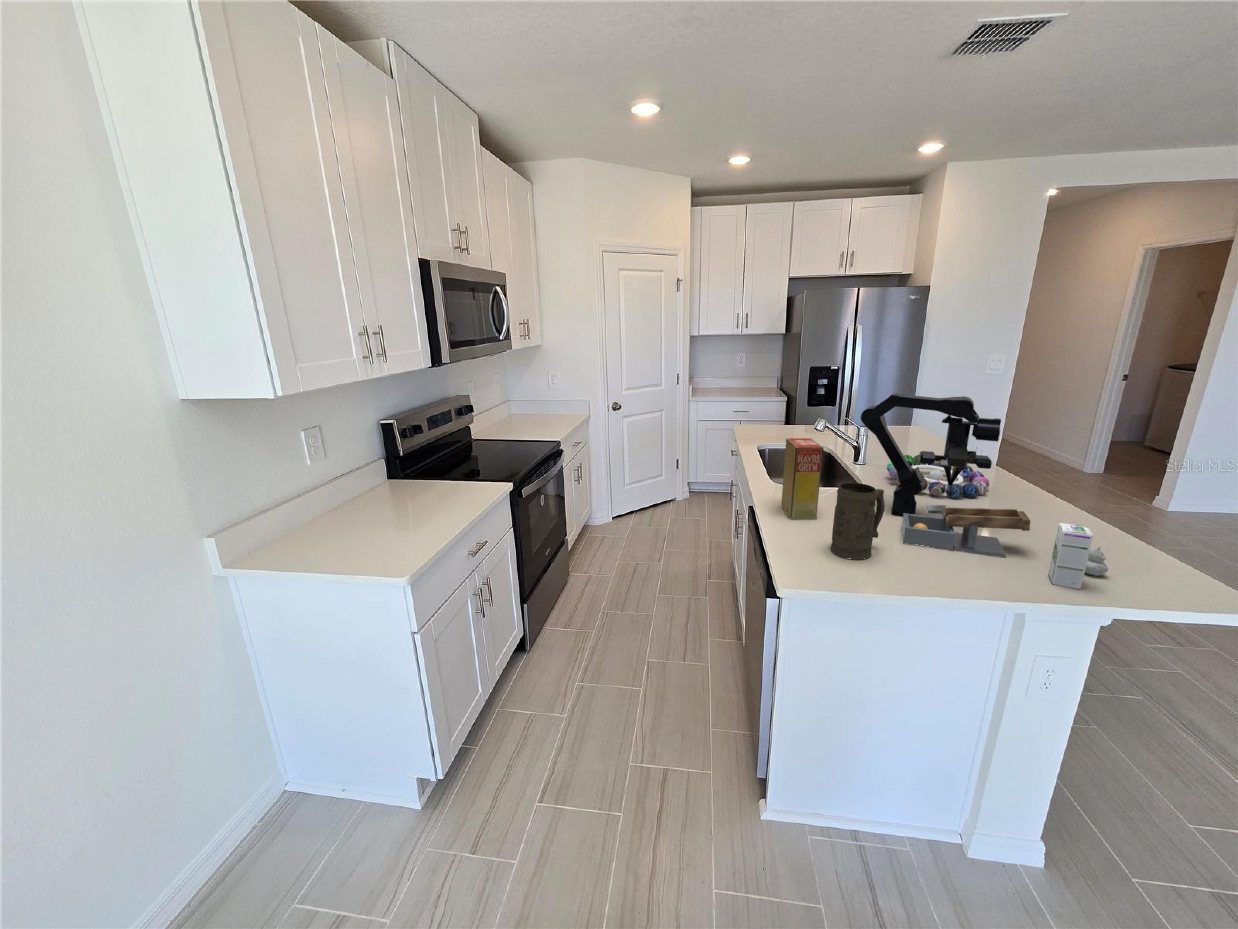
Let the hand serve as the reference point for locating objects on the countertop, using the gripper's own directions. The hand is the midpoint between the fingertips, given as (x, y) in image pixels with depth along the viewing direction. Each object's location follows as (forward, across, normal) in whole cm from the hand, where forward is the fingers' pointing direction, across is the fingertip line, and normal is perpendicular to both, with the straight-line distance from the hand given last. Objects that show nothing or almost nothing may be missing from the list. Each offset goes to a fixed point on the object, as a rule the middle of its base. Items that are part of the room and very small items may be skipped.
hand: (949, 485), depth 161 cm
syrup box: (+12, +22, -34) cm, 42 cm away
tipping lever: (+5, +5, -14) cm, 16 cm away
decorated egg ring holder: (+13, +1, +39) cm, 41 cm away
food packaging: (+12, -44, -10) cm, 47 cm away
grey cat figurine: (+12, +29, -26) cm, 41 cm away
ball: (+9, -8, -18) cm, 22 cm away
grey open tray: (+12, -6, -18) cm, 23 cm away
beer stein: (+12, -25, -34) cm, 44 cm away
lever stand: (+12, +6, -18) cm, 22 cm away
